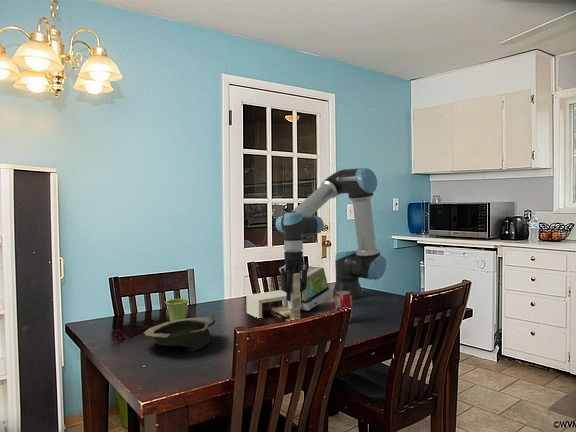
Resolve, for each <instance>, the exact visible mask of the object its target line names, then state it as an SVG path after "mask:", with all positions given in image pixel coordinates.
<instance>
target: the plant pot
mask: <svg viewBox="0 0 576 432" xmlns="http://www.w3.org/2000/svg"><path fill="white" fill-rule="evenodd" d="M188 303H189V299H186V298H175V299H174V298H173V299H169V300H166V301H165V304H166V307H167V309H168V310H167V311H168V316H169V322H170V321H174V320H181V319H186V317H187V307H188Z"/></svg>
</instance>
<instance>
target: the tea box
mask: <svg viewBox="0 0 576 432" xmlns="http://www.w3.org/2000/svg"><path fill="white" fill-rule="evenodd" d="M308 266H309V265H308ZM301 277H302V270H301ZM327 280H328V279H327V276H326V272H325V269H324V267H320V266H319V267H318V266H309V268H308V271H307V287H306V289H304V291H303V292H302V299H301V308H300V310H303V311H310V310H311V309H313V308H314V307H316V306H317V305H319V304H321V303H322V302H324V301H326V300H327V299H329V298H331V296H332V294H331V292H330V287H329V284H328V281H327Z"/></svg>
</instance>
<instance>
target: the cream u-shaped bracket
mask: <svg viewBox="0 0 576 432" xmlns="http://www.w3.org/2000/svg"><path fill="white" fill-rule="evenodd" d="M245 296H246V297H245V298H246V299H245V300H246V314H248V315H250V316H252V317H254V318H256V317H257V319H258V318H262V319H263V304H266V303H271V302H272V303H273V302H279V301H282V306H285V307H287V308H288V301H287V299H286V292H284V291H282V289H278V290H273V291H266V292H260V293H259V292H258V293H251V294H246V295H245Z"/></svg>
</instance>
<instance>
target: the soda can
mask: <svg viewBox="0 0 576 432" xmlns="http://www.w3.org/2000/svg"><path fill="white" fill-rule="evenodd" d="M338 307H349V308H351V317H350V322H351V321H352V320H353V299H352V296H351V294H350V292H349V291H337V292H336V295H335V297H334V310H335V309H337V308H338Z"/></svg>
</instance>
